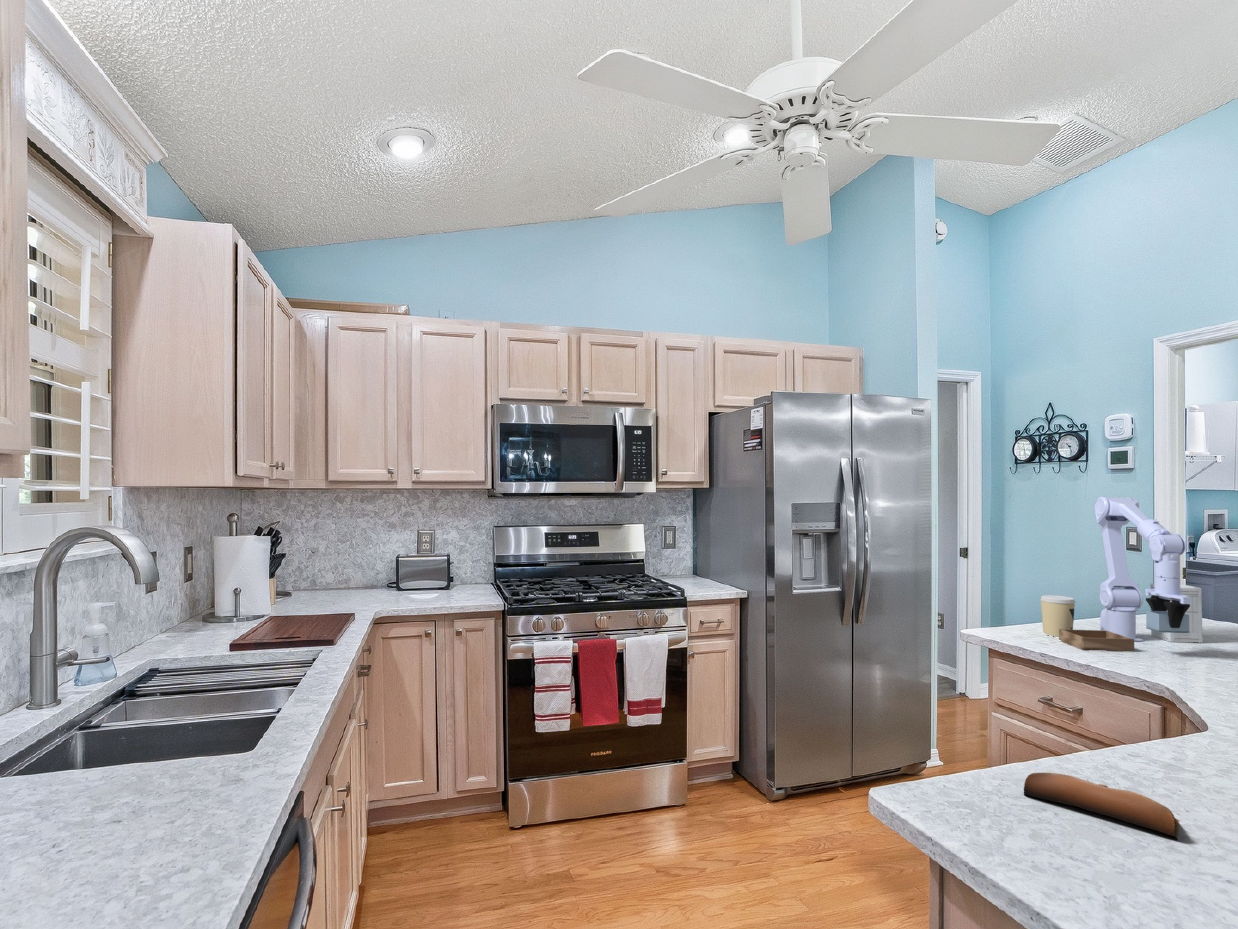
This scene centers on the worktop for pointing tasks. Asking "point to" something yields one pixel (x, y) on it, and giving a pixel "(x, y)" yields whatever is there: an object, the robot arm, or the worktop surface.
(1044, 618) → the coffee cup
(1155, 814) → the sunglasses case
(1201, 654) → the worktop surface
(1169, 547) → the robot arm
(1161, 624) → the slate crate
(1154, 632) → the supplement box
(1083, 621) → the worktop surface
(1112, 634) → the walnut crate
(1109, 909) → the worktop surface
